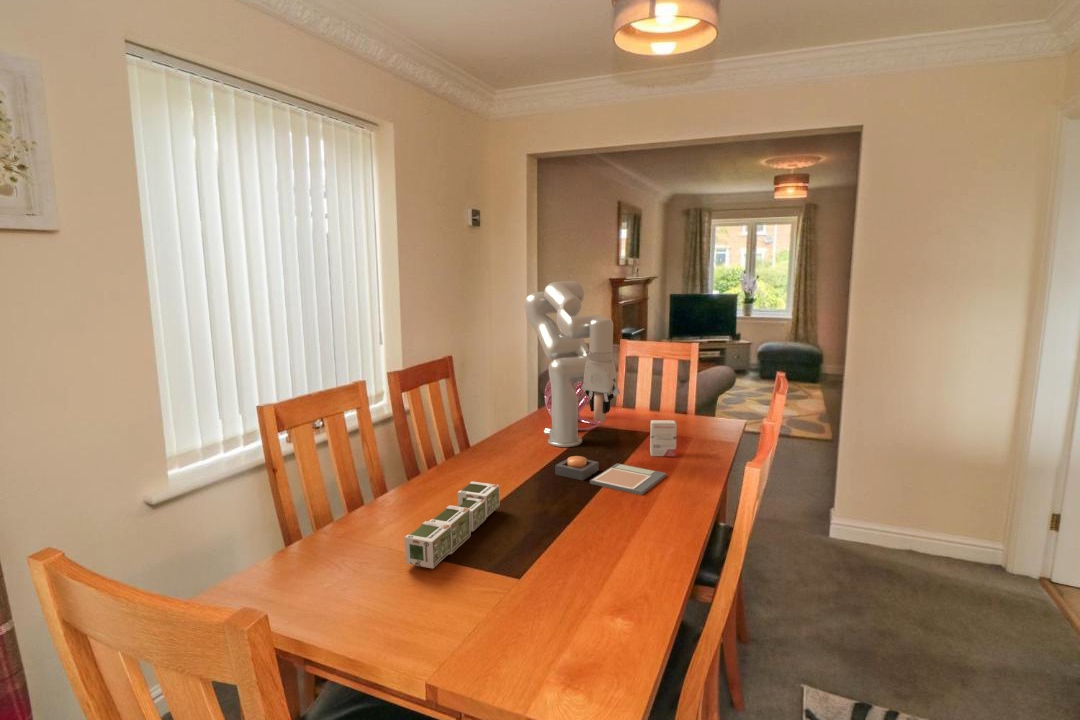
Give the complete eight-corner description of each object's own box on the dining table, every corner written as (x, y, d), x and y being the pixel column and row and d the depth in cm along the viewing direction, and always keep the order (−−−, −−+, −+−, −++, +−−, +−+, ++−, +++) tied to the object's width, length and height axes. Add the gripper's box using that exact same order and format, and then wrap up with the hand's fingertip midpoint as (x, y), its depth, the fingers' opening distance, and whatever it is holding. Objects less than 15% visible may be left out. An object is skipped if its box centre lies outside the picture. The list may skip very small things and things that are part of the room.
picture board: (589, 483, 179) (589, 479, 179) (616, 466, 194) (616, 462, 193) (641, 495, 169) (641, 491, 169) (666, 476, 184) (666, 472, 184)
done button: (563, 467, 187) (563, 460, 187) (573, 462, 192) (573, 454, 192) (580, 471, 184) (580, 463, 183) (589, 465, 189) (589, 458, 188)
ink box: (674, 452, 207) (675, 419, 205) (676, 457, 202) (677, 423, 200) (649, 452, 207) (650, 419, 205) (650, 456, 203) (651, 423, 201)
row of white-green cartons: (472, 506, 164) (471, 480, 162) (500, 510, 161) (499, 484, 159) (399, 567, 131) (398, 536, 130) (433, 574, 128) (431, 541, 127)
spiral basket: (637, 378, 237) (583, 338, 244) (607, 409, 216) (549, 364, 222) (606, 423, 254) (556, 385, 260) (575, 456, 233) (522, 413, 239)
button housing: (555, 474, 187) (555, 465, 186) (571, 465, 195) (571, 456, 195) (582, 480, 181) (582, 471, 181) (598, 470, 190) (598, 461, 189)
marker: (591, 419, 194) (591, 384, 192) (597, 416, 198) (597, 381, 196) (602, 422, 192) (602, 385, 190) (608, 418, 196) (609, 383, 193)
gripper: (572, 355, 193) (572, 410, 196) (618, 361, 183) (617, 418, 187) (584, 352, 199) (583, 405, 202) (629, 357, 190) (628, 412, 193)
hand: (599, 411), depth 195 cm, fingers closed on marker, 4 cm apart
